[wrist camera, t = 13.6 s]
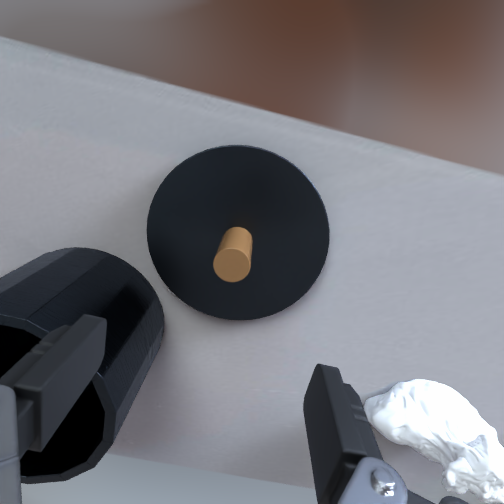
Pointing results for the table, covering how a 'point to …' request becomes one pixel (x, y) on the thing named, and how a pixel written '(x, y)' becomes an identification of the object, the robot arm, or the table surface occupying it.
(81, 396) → the waste tin
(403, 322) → the table surface
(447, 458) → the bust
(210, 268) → the tin lid
